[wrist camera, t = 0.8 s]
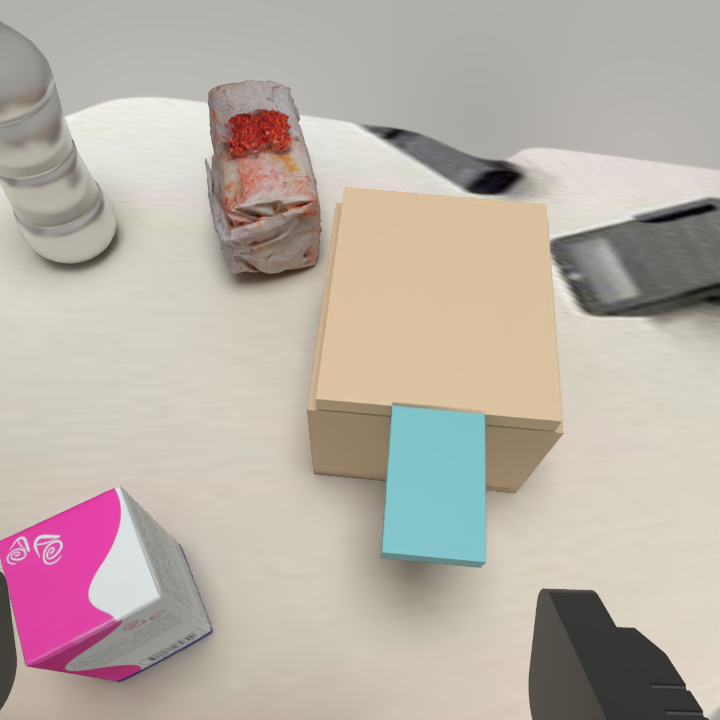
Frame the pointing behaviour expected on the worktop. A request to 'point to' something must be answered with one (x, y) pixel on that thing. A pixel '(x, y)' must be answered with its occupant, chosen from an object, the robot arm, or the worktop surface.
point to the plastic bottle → (46, 161)
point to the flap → (440, 351)
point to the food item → (261, 179)
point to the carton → (371, 432)
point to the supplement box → (101, 590)
